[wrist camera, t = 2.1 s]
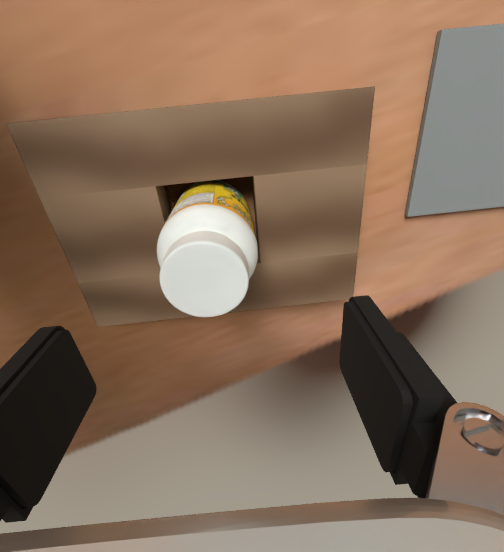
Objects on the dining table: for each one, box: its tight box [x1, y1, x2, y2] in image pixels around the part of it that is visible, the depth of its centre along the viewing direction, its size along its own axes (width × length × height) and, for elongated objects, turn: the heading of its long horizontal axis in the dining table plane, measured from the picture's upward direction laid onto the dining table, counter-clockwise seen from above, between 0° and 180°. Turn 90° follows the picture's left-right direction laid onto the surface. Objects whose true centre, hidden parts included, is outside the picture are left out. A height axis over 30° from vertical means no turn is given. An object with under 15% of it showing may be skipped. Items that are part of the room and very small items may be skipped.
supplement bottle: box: [157, 180, 258, 317], centre depth 17 cm, size 5×5×10 cm
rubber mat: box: [405, 24, 504, 217], centre depth 19 cm, size 11×11×1 cm
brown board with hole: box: [6, 87, 375, 327], centre depth 20 cm, size 14×20×2 cm
